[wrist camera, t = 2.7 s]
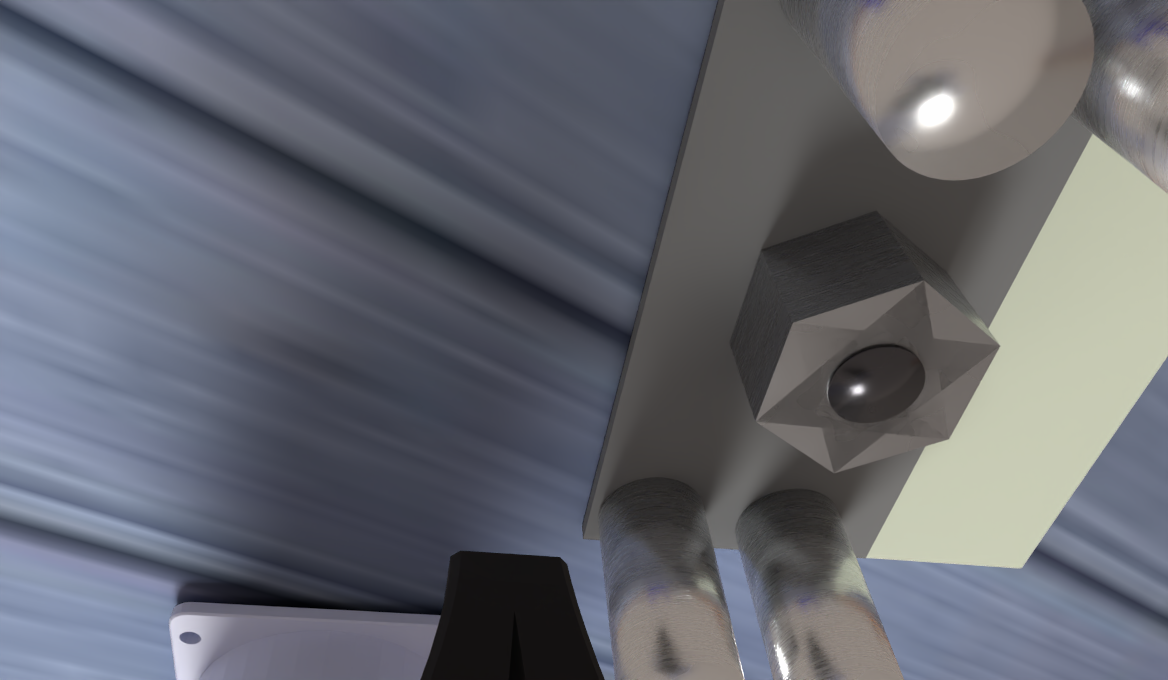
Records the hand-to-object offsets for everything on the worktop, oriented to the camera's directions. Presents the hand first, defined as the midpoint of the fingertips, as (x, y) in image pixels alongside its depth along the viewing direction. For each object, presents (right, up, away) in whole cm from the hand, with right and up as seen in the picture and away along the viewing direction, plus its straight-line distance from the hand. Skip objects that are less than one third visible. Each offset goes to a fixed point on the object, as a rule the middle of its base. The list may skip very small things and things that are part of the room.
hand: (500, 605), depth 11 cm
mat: (+8, +4, +8) cm, 12 cm away
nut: (+6, +4, +8) cm, 11 cm away
